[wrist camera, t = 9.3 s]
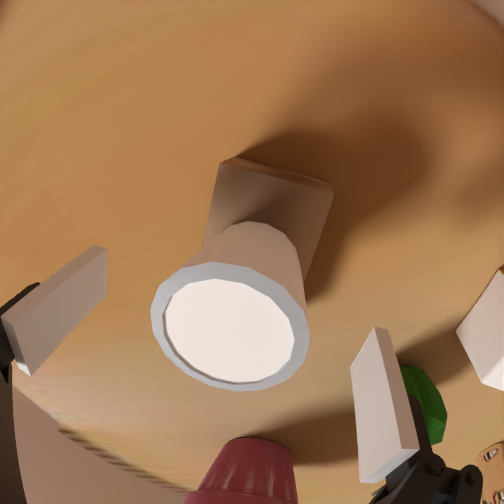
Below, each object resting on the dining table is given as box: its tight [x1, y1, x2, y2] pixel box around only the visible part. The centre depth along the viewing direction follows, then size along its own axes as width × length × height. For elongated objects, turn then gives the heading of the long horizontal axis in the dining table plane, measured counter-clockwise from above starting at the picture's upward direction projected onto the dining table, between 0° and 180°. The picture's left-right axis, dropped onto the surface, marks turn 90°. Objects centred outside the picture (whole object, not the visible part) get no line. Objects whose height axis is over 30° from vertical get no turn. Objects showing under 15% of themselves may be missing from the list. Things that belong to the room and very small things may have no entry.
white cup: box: [150, 221, 311, 392], centre depth 15 cm, size 7×7×7 cm
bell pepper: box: [356, 364, 447, 445], centre depth 21 cm, size 8×8×10 cm
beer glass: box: [475, 443, 504, 504], centre depth 23 cm, size 7×7×15 cm
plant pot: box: [184, 438, 298, 504], centre depth 28 cm, size 14×14×13 cm
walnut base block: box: [203, 156, 334, 284], centre depth 20 cm, size 6×11×4 cm, turn 167°
